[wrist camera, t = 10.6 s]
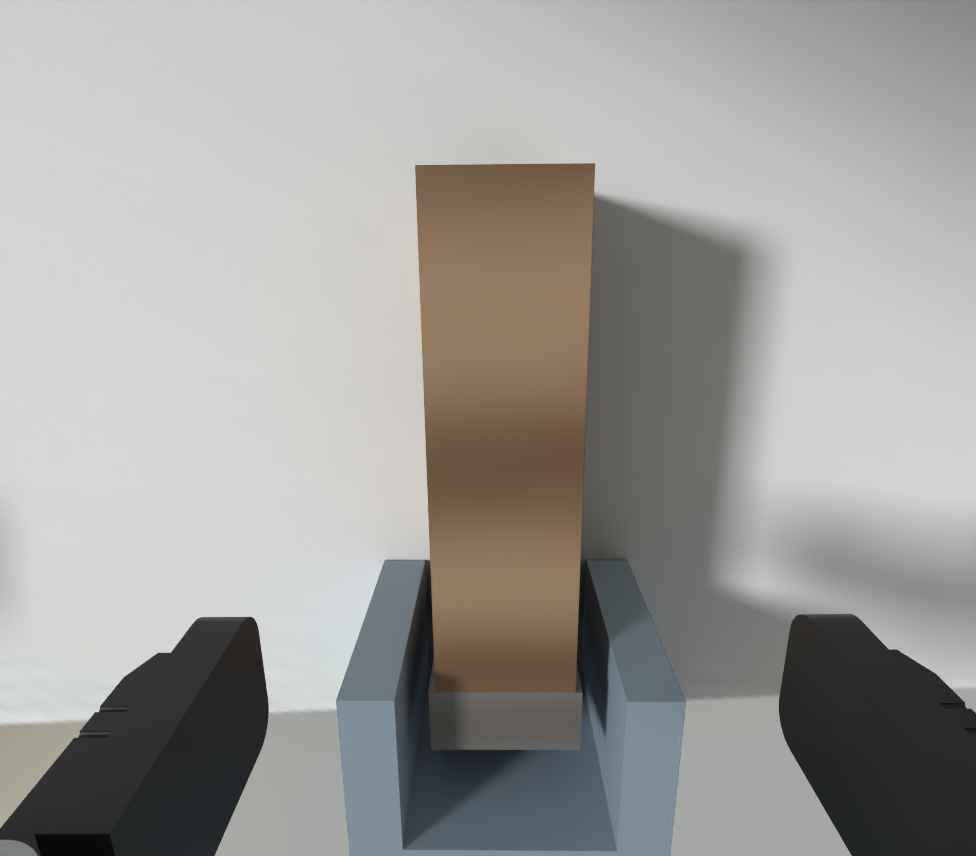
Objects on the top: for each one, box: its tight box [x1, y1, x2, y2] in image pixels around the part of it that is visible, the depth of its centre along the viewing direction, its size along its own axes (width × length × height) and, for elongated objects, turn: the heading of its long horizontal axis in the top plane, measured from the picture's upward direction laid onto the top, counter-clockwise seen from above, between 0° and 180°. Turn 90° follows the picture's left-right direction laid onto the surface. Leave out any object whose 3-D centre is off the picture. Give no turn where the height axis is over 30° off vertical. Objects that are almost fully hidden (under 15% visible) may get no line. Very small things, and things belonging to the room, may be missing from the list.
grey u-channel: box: [336, 560, 686, 856], centre depth 21 cm, size 7×9×8 cm
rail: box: [415, 163, 595, 750], centre depth 19 cm, size 16×4×6 cm, turn 0°
